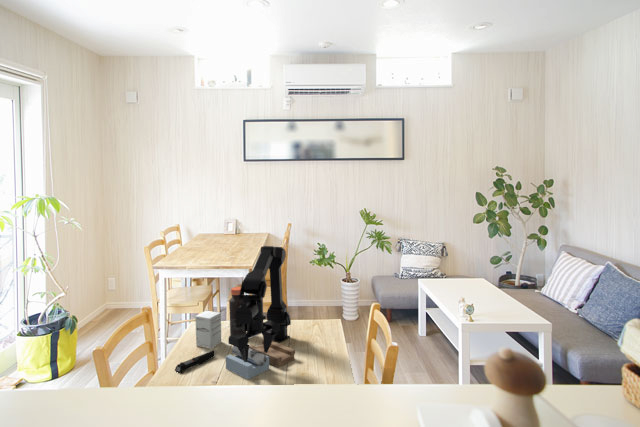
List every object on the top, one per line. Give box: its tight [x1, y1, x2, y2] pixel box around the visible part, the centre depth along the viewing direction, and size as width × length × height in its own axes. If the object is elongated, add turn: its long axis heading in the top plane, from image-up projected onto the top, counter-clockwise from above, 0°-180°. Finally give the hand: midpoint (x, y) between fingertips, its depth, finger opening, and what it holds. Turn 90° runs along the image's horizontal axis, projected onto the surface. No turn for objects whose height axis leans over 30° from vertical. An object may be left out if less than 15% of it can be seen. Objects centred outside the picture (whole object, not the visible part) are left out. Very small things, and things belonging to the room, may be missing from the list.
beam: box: [249, 339, 296, 368], centre depth 151 cm, size 16×9×4 cm, turn 50°
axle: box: [231, 345, 266, 366], centre depth 143 cm, size 14×4×4 cm, turn 50°
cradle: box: [225, 354, 270, 380], centre depth 143 cm, size 12×10×4 cm
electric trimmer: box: [174, 350, 216, 374], centre depth 146 cm, size 4×16×3 cm, turn 141°
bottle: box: [228, 286, 247, 336], centre depth 172 cm, size 7×7×20 cm
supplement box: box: [195, 310, 222, 349], centre depth 163 cm, size 7×7×13 cm
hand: (255, 357), depth 139 cm, fingers open, 9 cm apart
